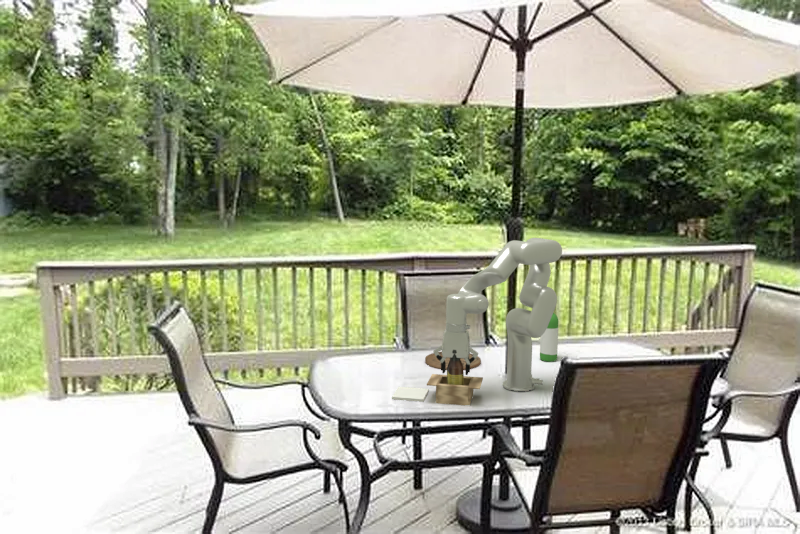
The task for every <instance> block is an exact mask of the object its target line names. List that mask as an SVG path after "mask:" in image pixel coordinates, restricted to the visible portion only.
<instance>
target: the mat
mask: <svg viewBox="0 0 800 534" xmlns="http://www.w3.org/2000/svg"><path fill="white" fill-rule="evenodd" d="M429 391H430V388H423V387H420V388H419V387H409V386H408V387H407V386H398V387H397V388H396V390H395V392H394V393H393V394H392V397H391V400H392V399H395V400H394V401H396V400H397V401H404V400H406V401H407V402H417V401H419V403H424V402H425V399H426V398H427V396H428V394H429ZM406 401H405V402H406Z"/></svg>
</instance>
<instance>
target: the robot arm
mask: <svg viewBox="0 0 800 534" xmlns="http://www.w3.org/2000/svg"><path fill="white" fill-rule="evenodd" d="M562 254H563V247H562V245H561V243H560V242H558V241H557V240H555V239H547V238H543V237H542V238H541V237H531V238H528V239H527V240H525V241H522V240H516V239H515V240H514V239H513V240H510V241H508V242H507V243H506V244H505V245H504V247H503V248H502V249H501V250H500V251H499V253H498V254H497V255H496V256H495V257H494V258H493V260H492V261H491V262H490V264H489V265H488V266H487V267H486V268H484V269H482V270H480V271H479V272H477V273H476V274H474V275H473V276H471V277H470V278H469V279H468V280H467V281H466V282H465V283H464V284H462V287H461V288H460V289H459V291H458V293H452V294H448V295H447V296H446V302H445V304H446V305H445V307H446V308H445V320H446V321H445V329H444V331H443V336H442V344H441V345H440V346H439V347H437V348H435V349H434V350H433V352H432V353H434V354H435V356H436V357H437V359H438V360H439V361H440V362H441V369H440V371H441V372H442V374H445V373H446V371H447V370H446V362H445V359H446V358H452V357H453V355H454V354H453V353H452V352H453V350H456V351H457V353H456V354H455V355H456V357H457V358H462V359H464V360H465V361H466V370H465V372H464V373H465V374H464V376H465V375H466V376H468V375H469V373H471V369H470V364H471V363H472V362H473V361H474V360H475V358H476V357H477V356H478V357H479V352H477V351H476V350H475V349H474V348H472V347H471V345H470V333H469V331H468V330H470V329H471V325H470V324H468V323H467V315H469V314H471V315H472V314H473V315H479V314H483V313H485V312H486V311H487V310H488V309H489V305H490V303H489V300H488V298H487V297H486V296H485V295H484V294H481V292H482V291H483V290H485V289H486V288H489V287H491V286H496V285H500V284H502V283H504V282H506V281H507V280H508V278H510V276H511V275H512V274H513V272H514V271H515V270H516V268H517V267H518V266H519V265H520V264H521V265H526V266H529V268H528V269H529V270H528V272H527V274H526V278H525V280H524V283H523V284H522V288H521V289H520V293H519V296H518V298H519V299H518V300H519V302H520V303H521V304H522V305H523V306H524V307H525V306H526V307H528V308H530V309H531V310H529V309H525V308H522V307H521V308H520V307H517V308H513V309H511V310H509V312H508V313H507V315H506V317H505V326H506V332H507V334H506V335H507V357H506V358H507V359H506V362H507V363H506V379H505V380H504V381H503V382H502V388H504V389H505V390H508V391H511V390H514V391H513V392H518V391H525V392H530V391H529V390H531V391H533V390H534V389H535V387H536V385H538V386H543V382H544V381H543V379H541V378H538V377H537V378H535V377H533V374H532V368H533V367H532V364H533V361H532V360H533V339H537V338H538V339H539V338H540V336H542V335H543V334H544V332H545V331H546V329H547V327H548V324H549V322H550V320H551V317H552V315H553V312H555V309H556V306H557V303H558V296H557V293H556V291H555V289H553V288H552V287H550V286H548V285H549V281H550V278H551V275H552V274H551V273H552V272H551V271H552V270H551V269H552V268H551V266H550V263H551V264H553V263H554V262H557V261H558V260H559V259H560V258H562V257H561V256H562ZM532 338H533V339H532ZM438 352H442V356H443V357H441V356H440V355H439V353H438ZM469 354H473V357H471V358H469V357H468V356H469ZM532 389H533V390H532Z"/></svg>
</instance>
